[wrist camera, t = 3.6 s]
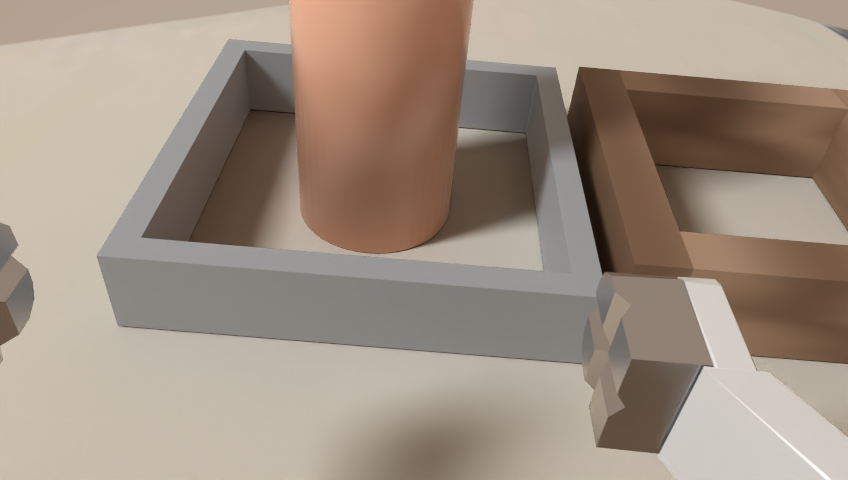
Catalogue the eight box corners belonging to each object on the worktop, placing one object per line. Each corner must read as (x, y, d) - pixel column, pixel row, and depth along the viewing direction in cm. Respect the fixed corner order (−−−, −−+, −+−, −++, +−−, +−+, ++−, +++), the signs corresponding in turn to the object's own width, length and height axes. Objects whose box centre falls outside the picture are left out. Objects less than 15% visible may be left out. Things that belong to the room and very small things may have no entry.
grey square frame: (543, 124, 29) (555, 67, 27) (585, 363, 19) (607, 298, 17) (235, 97, 28) (228, 39, 27) (117, 325, 19) (96, 255, 17)
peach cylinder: (449, 168, 26) (505, -320, 17) (447, 259, 22) (518, -312, 13) (313, 157, 26) (294, -340, 17) (287, 246, 22) (244, -337, 13)
